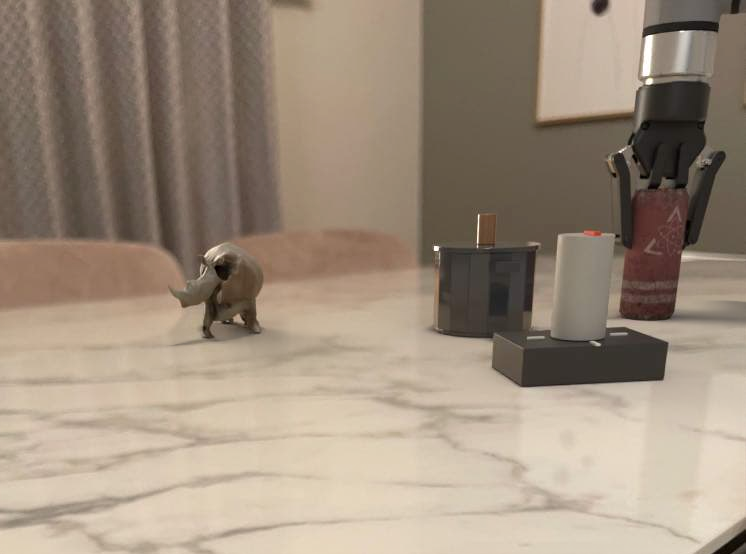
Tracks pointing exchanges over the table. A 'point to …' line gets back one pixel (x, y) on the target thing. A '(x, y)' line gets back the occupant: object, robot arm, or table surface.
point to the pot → (483, 292)
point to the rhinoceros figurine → (225, 287)
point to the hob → (578, 357)
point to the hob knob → (582, 285)
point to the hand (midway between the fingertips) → (646, 309)
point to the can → (654, 254)
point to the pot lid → (486, 240)
